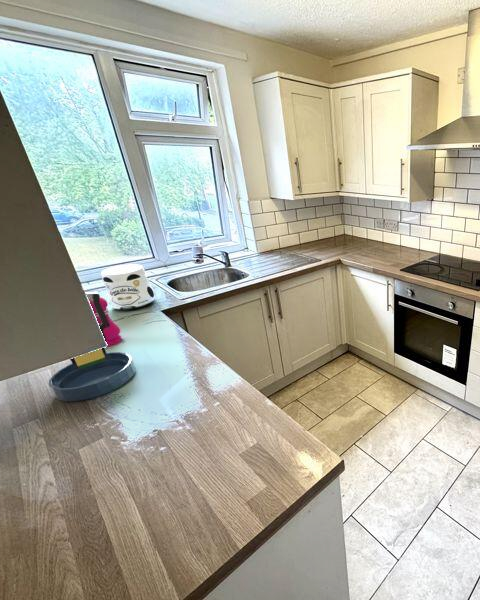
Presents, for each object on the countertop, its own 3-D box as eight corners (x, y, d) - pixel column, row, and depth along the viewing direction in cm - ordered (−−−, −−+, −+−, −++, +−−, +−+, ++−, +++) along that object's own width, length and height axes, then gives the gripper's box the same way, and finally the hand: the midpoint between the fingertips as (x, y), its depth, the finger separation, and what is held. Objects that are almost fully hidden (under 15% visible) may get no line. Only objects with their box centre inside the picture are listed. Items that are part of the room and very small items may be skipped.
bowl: (36, 401, 95) (28, 387, 93) (98, 363, 112) (92, 350, 110) (98, 405, 93) (92, 391, 91) (150, 365, 111) (146, 353, 109)
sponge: (74, 358, 90) (64, 336, 87) (100, 350, 94) (91, 328, 91) (79, 369, 85) (68, 346, 82) (106, 360, 89) (96, 338, 86)
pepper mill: (104, 339, 127) (84, 291, 119) (126, 336, 129) (108, 289, 121) (96, 349, 121) (74, 299, 113) (119, 345, 123) (100, 296, 115)
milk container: (121, 316, 145) (107, 278, 138) (105, 307, 154) (91, 271, 147) (163, 302, 159) (152, 267, 152) (146, 295, 167) (135, 261, 160)
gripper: (-4, 291, 71) (42, 378, 80) (104, 270, 84) (134, 348, 93) (-5, 283, 76) (39, 366, 85) (99, 265, 89) (127, 339, 98)
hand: (89, 356), depth 89 cm, fingers closed on sponge, 5 cm apart
